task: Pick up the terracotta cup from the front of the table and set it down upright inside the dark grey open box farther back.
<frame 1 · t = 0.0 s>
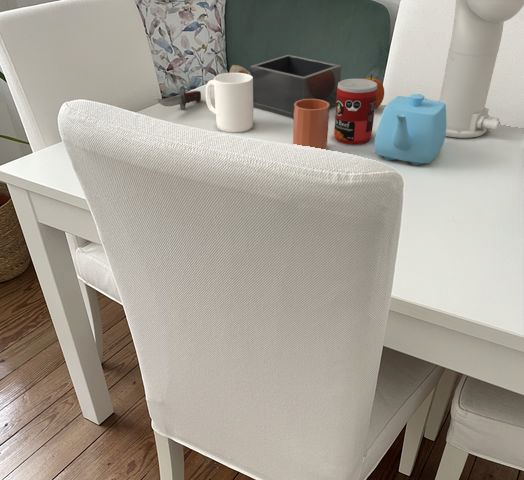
mug: (246, 95, 145), on the table
cup: (228, 125, 128), on the table
canned food: (352, 139, 121), on the table
knife: (180, 111, 136), on the table
terracotta cup: (309, 150, 116), on the table
fruit: (367, 110, 135), on the table
teapot: (405, 158, 113), on the table
dark grey open box: (294, 106, 138), on the table
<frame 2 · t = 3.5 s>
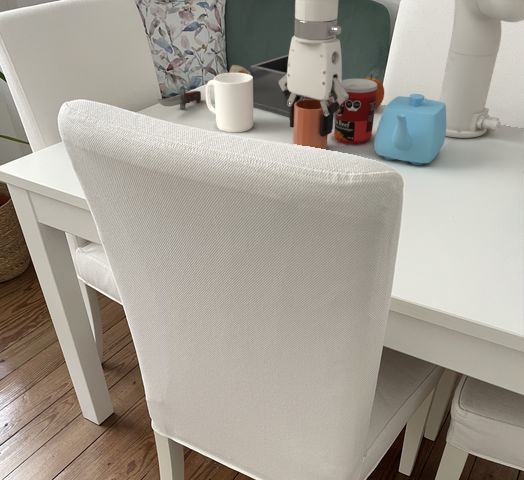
hand: (310, 129, 114), 4 cm above the table, tool pointing down, fingers closed on terracotta cup, 6 cm apart
terracotta cup: (309, 150, 116), on the table, touching gripper
everything else where it was.
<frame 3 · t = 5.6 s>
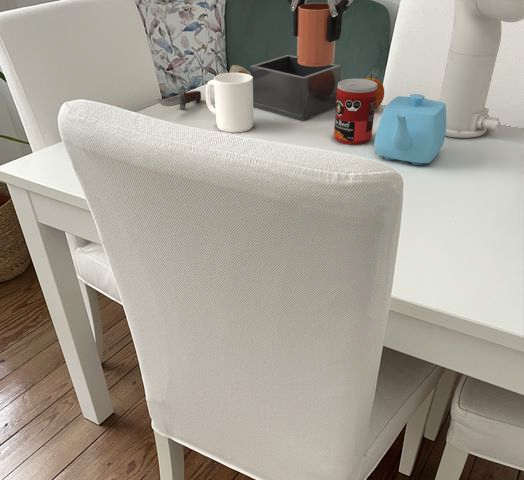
hand: (316, 36, 104), 21 cm above the table, tool pointing down, fingers closed on terracotta cup, 6 cm apart
terracotta cup: (315, 61, 106), point 16 cm above the table, touching gripper
everything else where it was.
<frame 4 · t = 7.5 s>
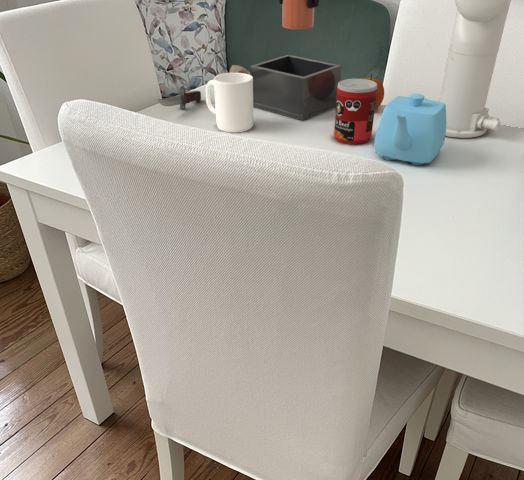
hand: (298, 4, 122), 22 cm above the table, tool pointing down, fingers closed on terracotta cup, 6 cm apart
terracotta cup: (297, 26, 125), point 17 cm above the table, touching gripper
everything else where it was.
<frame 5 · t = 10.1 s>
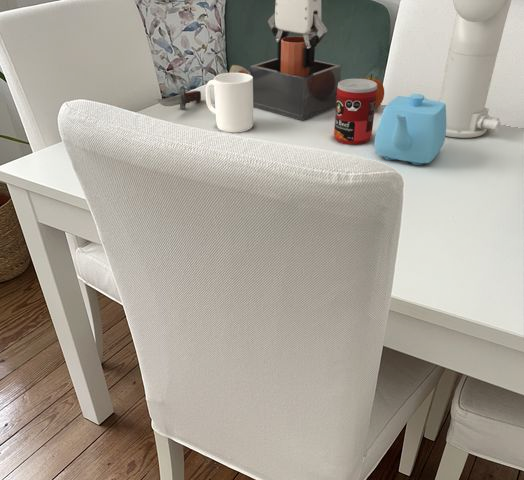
hand: (295, 62, 132), 10 cm above the table, tool pointing down, fingers closed on terracotta cup, 6 cm apart
terracotta cup: (294, 82, 134), point 5 cm above the table, touching gripper
everything else where it was.
when the fingers open (5 cm above the table, at t = 11.8 s): terracotta cup stays where it is, resting on dark grey open box.
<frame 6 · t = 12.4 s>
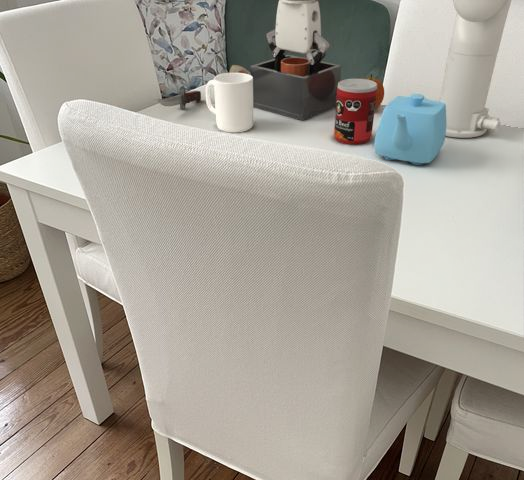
hand: (295, 78, 134), 6 cm above the table, tool pointing down, fingers open, 9 cm apart
terracotta cup: (294, 101, 137), point 1 cm above the table, touching dark grey open box
everything else where it was.
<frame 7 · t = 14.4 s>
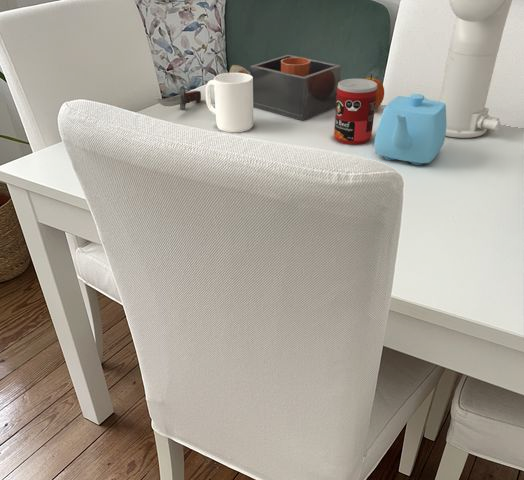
nothing on the table moved.
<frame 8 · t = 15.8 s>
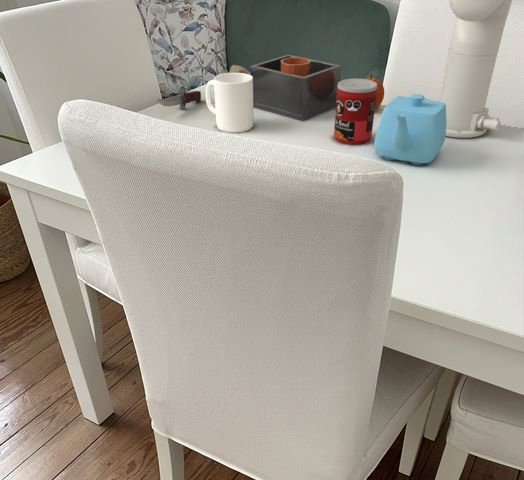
nothing on the table moved.
at the end: terracotta cup inside the target area in the dark grey open box (0.1 cm from its centre), point 1.0 cm above the dark grey open box's base; terracotta cup tilted 0° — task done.
